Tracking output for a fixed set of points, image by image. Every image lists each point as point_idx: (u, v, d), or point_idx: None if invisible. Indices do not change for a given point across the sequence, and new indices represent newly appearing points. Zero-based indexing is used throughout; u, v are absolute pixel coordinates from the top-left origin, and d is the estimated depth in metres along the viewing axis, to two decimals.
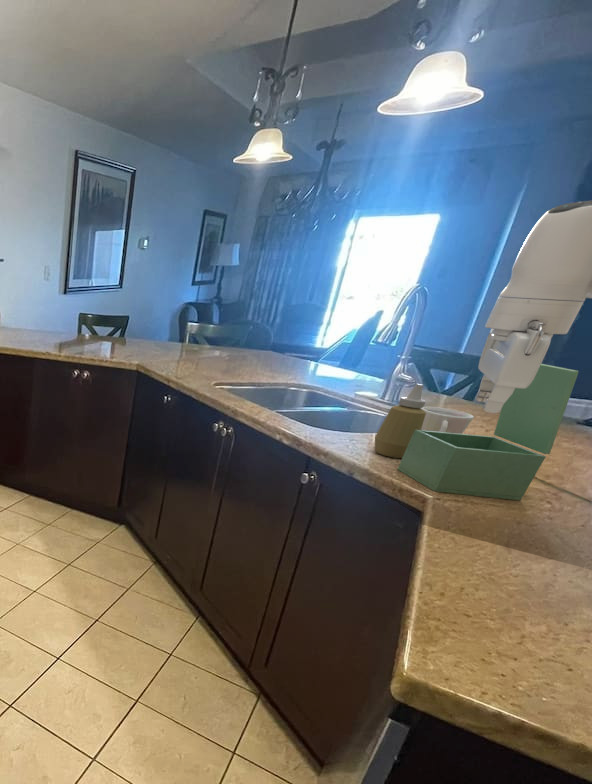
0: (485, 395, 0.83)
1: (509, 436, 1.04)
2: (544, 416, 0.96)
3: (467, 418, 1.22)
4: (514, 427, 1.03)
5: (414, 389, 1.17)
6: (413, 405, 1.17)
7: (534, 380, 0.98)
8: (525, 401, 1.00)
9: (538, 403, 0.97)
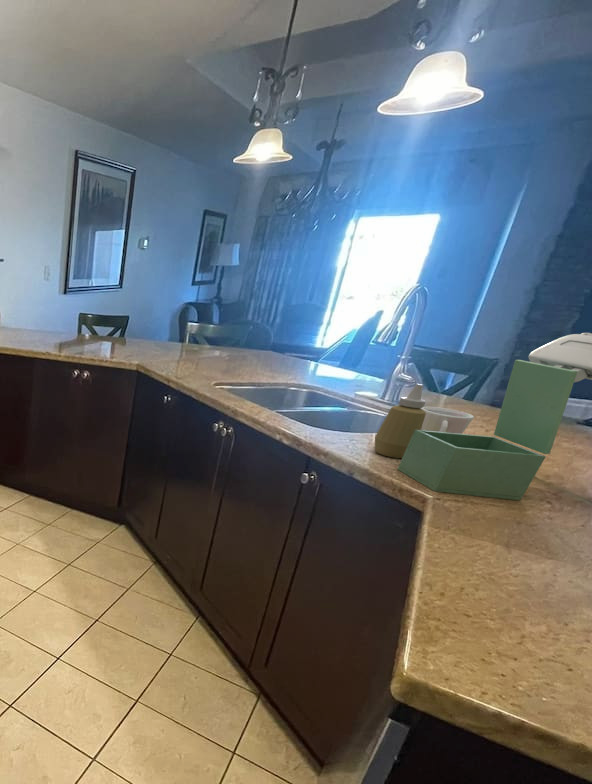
0: None
1: (509, 436, 1.04)
2: (544, 416, 0.96)
3: (467, 418, 1.22)
4: (514, 427, 1.03)
5: (414, 389, 1.17)
6: (413, 405, 1.17)
7: (533, 380, 0.98)
8: (524, 401, 1.00)
9: (537, 403, 0.97)
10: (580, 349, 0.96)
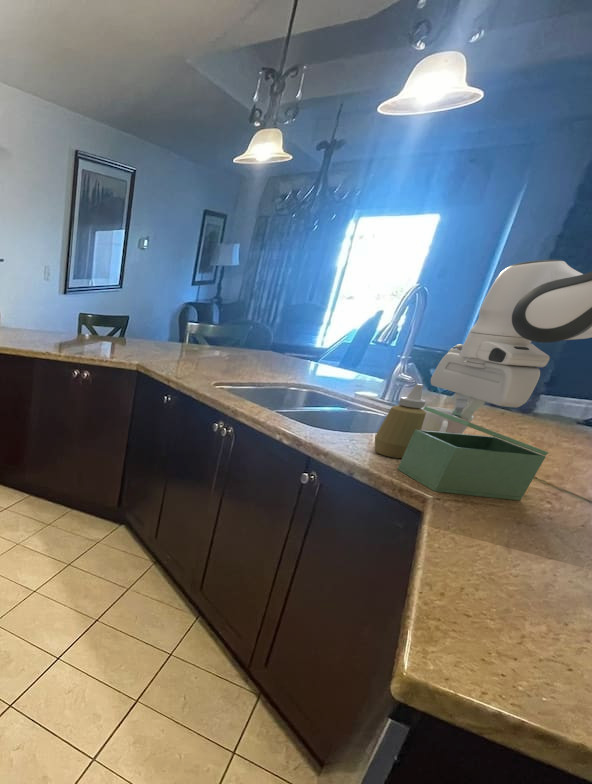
0: None
1: None
2: None
3: None
4: None
5: (414, 389, 1.17)
6: (413, 405, 1.17)
7: None
8: None
9: None
10: (461, 375, 1.01)
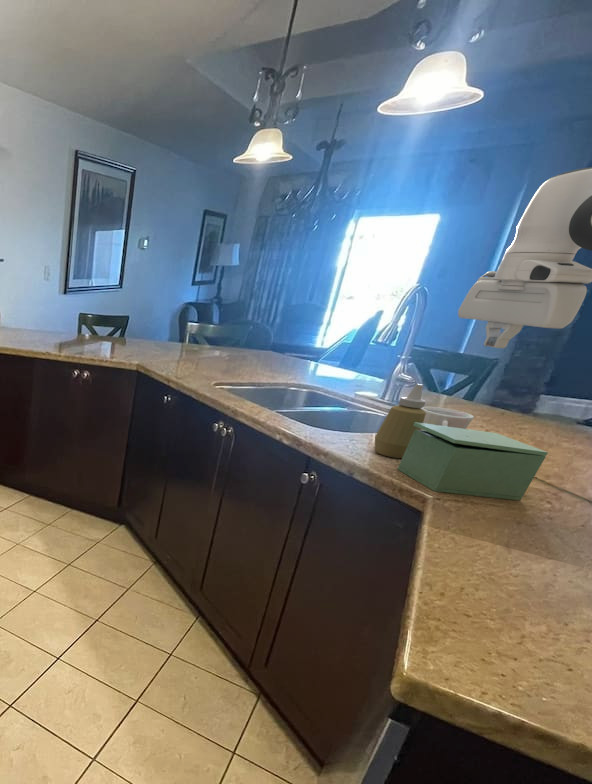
0: None
1: None
2: None
3: (467, 418, 1.22)
4: None
5: (414, 389, 1.17)
6: (413, 405, 1.17)
7: None
8: None
9: None
10: (494, 301, 0.95)
